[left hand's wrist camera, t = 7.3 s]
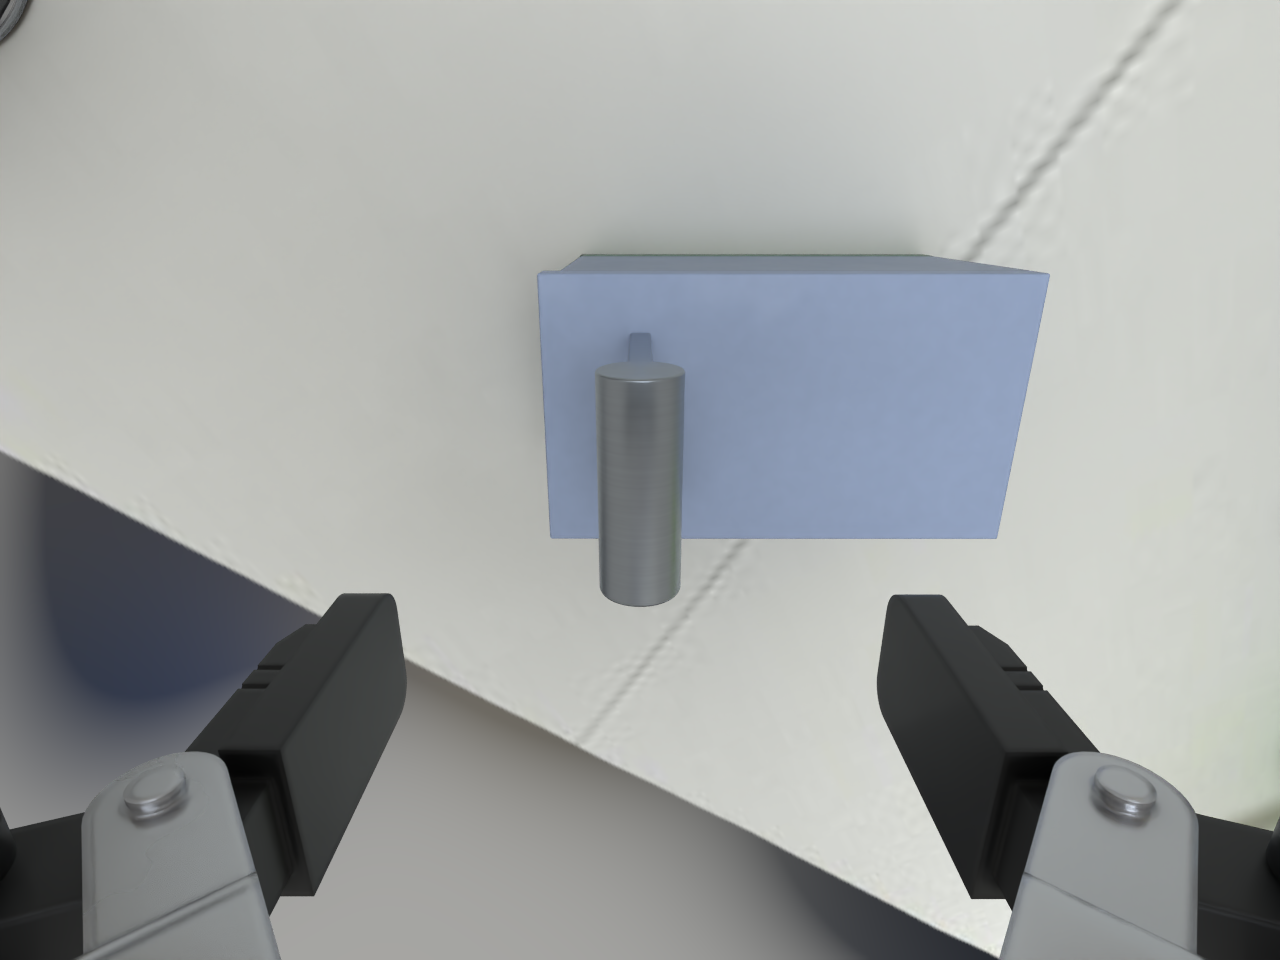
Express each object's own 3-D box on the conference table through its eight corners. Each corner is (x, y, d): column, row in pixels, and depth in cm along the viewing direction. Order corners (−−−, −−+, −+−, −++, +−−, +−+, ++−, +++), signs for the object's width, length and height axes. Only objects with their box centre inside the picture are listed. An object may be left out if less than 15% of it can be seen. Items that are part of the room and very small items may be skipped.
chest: (587, 447, 36) (569, 525, 27) (582, 254, 33) (559, 270, 24) (896, 446, 36) (982, 525, 27) (922, 254, 33) (1031, 270, 24)
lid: (553, 526, 27) (515, 664, 19) (541, 270, 24) (487, 301, 15) (983, 526, 27) (1134, 664, 19) (1032, 270, 24) (1244, 301, 15)
